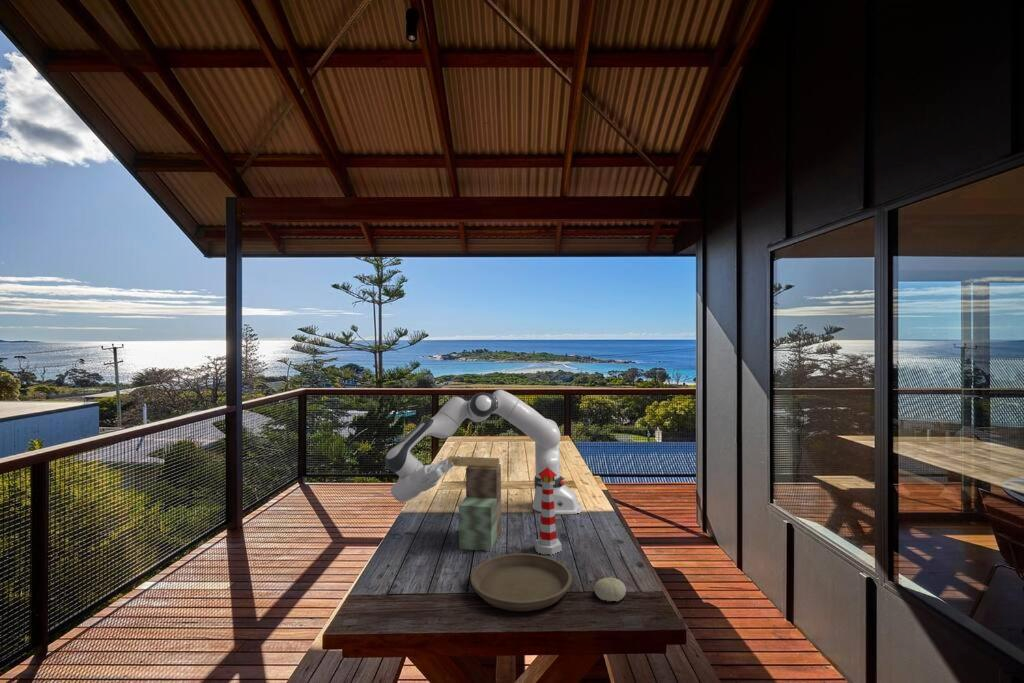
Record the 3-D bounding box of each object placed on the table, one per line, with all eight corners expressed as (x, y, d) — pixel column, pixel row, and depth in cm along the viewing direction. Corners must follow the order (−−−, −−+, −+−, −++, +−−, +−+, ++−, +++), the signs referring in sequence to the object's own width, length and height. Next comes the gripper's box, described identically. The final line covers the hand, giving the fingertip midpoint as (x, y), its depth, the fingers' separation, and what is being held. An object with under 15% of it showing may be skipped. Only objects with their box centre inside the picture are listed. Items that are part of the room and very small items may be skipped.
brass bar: (499, 465, 201) (499, 458, 201) (497, 467, 198) (497, 460, 198) (450, 463, 204) (450, 456, 204) (447, 465, 202) (447, 458, 201)
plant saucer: (540, 628, 137) (540, 611, 137) (449, 597, 154) (449, 582, 154) (588, 581, 164) (588, 566, 164) (506, 559, 180) (505, 546, 180)
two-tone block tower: (501, 532, 204) (500, 464, 203) (491, 551, 186) (490, 476, 186) (471, 530, 206) (471, 463, 205) (459, 548, 188) (458, 475, 188)
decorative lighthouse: (564, 546, 190) (564, 465, 189) (558, 556, 181) (558, 471, 181) (537, 542, 193) (537, 463, 193) (530, 552, 185) (530, 469, 184)
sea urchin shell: (588, 583, 158) (606, 564, 158) (606, 600, 158) (624, 581, 159) (595, 598, 149) (614, 577, 149) (614, 616, 149) (633, 596, 150)
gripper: (414, 477, 195) (444, 459, 192) (432, 463, 215) (459, 447, 213) (422, 491, 194) (453, 474, 192) (439, 476, 214) (467, 461, 212)
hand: (456, 460), depth 202 cm, fingers open, 8 cm apart
